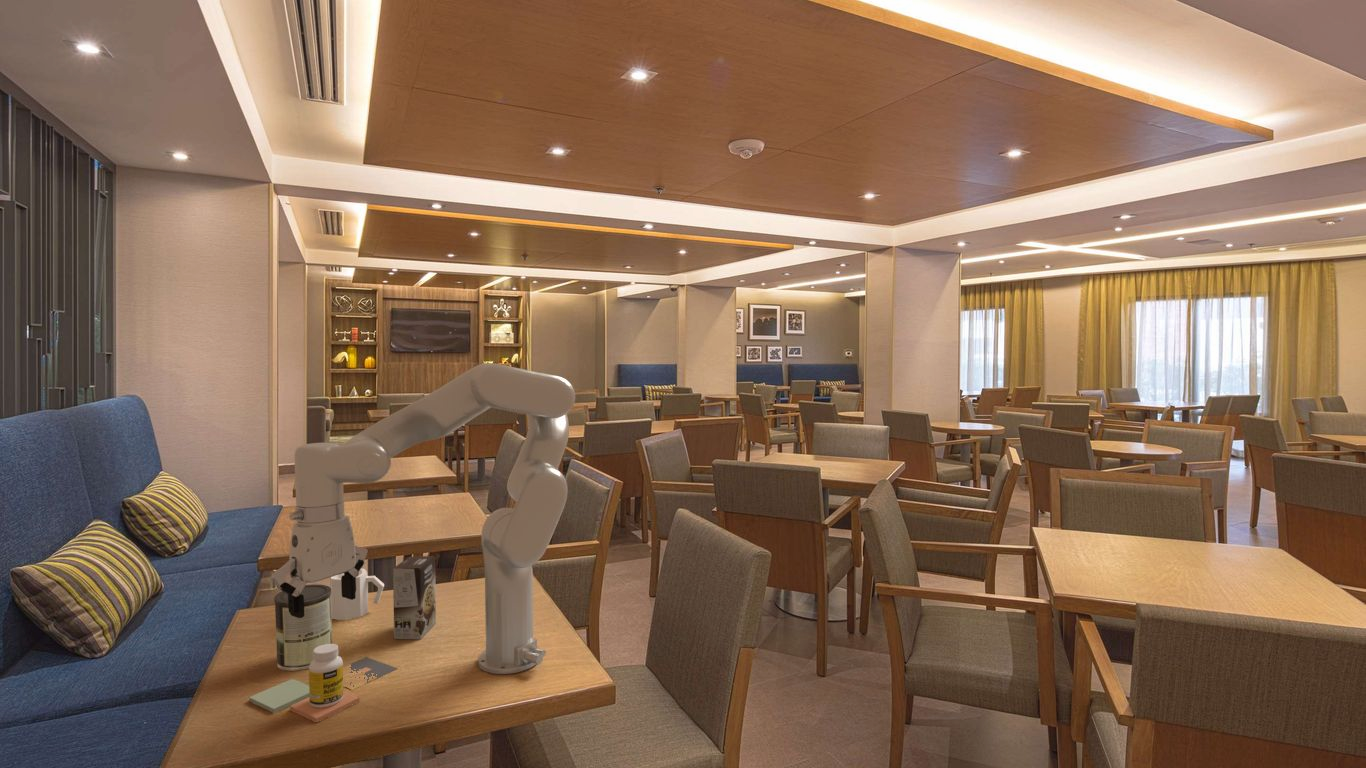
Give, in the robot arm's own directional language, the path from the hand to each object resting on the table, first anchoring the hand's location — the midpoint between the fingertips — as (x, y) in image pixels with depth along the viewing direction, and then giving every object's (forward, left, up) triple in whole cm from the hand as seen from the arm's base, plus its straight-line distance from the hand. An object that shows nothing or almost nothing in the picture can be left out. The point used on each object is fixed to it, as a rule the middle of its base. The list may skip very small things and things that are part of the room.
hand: (323, 606), depth 123 cm
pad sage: (+10, +2, -18) cm, 21 cm away
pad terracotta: (0, 0, -18) cm, 18 cm away
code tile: (+6, -11, -18) cm, 22 cm away
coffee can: (+21, -9, -19) cm, 29 cm away
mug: (+34, -30, -19) cm, 49 cm away
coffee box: (+13, -30, -19) cm, 37 cm away
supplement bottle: (0, 0, -18) cm, 18 cm away
